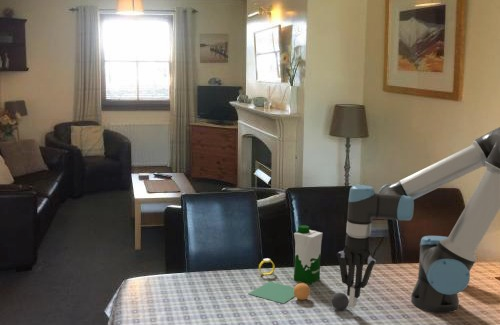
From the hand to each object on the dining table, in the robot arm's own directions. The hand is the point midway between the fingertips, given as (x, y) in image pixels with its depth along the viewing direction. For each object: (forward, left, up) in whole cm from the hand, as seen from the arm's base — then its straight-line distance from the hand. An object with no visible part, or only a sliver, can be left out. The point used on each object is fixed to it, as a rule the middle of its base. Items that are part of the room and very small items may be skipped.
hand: (352, 306), depth 179 cm
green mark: (+28, 0, -3) cm, 29 cm away
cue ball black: (+4, 0, 0) cm, 5 cm away
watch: (+40, -13, -3) cm, 43 cm away
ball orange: (+18, 0, 0) cm, 19 cm away
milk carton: (+25, -17, -3) cm, 31 cm away
